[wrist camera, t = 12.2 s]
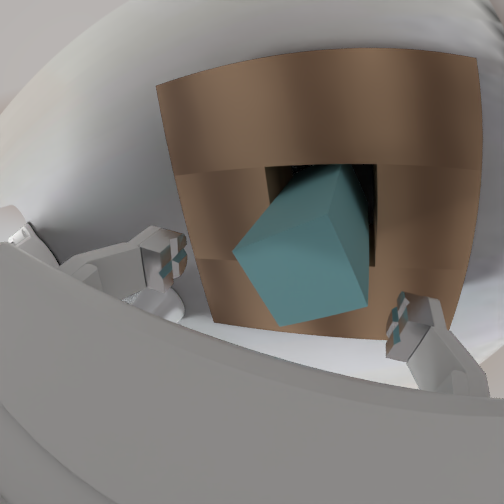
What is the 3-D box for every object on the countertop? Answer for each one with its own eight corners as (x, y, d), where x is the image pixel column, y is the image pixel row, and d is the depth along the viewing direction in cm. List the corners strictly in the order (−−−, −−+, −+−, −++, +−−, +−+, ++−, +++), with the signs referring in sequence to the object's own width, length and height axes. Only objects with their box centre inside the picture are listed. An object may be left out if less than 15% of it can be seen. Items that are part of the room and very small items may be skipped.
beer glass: (184, 331, 36) (117, 422, 23) (140, 304, 36) (67, 383, 24) (192, 295, 31) (110, 400, 19) (142, 266, 32) (52, 352, 20)
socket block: (241, 281, 28) (213, 322, 23) (203, 84, 20) (155, 85, 15) (434, 291, 21) (444, 341, 16) (445, 67, 13) (476, 58, 8)
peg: (320, 218, 22) (279, 327, 12) (296, 172, 21) (231, 251, 11) (367, 200, 20) (367, 306, 10) (344, 151, 19) (327, 214, 9)
